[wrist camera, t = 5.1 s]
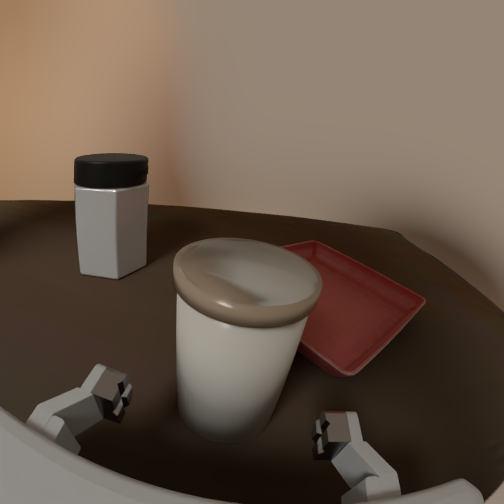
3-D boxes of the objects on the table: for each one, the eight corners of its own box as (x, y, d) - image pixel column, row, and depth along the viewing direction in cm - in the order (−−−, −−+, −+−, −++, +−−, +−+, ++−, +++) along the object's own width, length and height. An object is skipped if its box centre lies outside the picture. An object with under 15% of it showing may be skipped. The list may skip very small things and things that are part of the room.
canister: (163, 433, 13) (149, 289, 9) (187, 362, 19) (195, 230, 15) (273, 452, 13) (335, 321, 9) (275, 377, 19) (312, 250, 15)
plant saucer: (335, 405, 17) (353, 376, 16) (200, 287, 29) (202, 259, 28) (417, 322, 29) (428, 299, 27) (309, 260, 41) (314, 239, 39)
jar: (154, 275, 29) (160, 161, 24) (81, 285, 24) (74, 164, 20) (134, 243, 35) (138, 152, 31) (76, 249, 31) (74, 154, 26)
